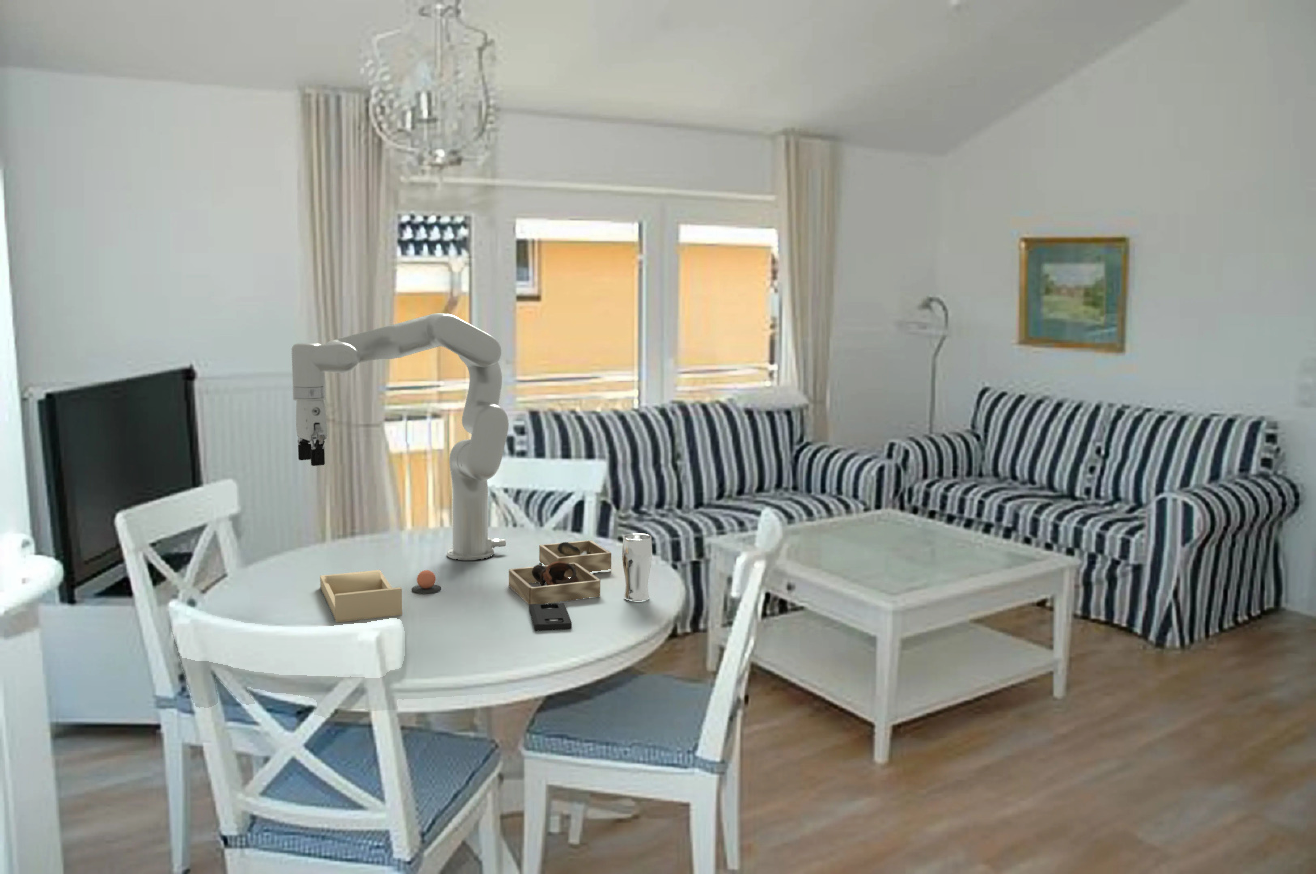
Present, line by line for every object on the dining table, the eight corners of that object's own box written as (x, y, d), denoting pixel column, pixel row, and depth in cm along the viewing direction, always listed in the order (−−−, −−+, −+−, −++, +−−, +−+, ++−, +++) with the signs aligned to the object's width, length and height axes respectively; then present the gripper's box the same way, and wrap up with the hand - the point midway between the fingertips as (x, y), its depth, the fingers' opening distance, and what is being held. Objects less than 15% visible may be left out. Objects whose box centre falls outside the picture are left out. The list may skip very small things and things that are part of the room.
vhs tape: (571, 631, 213) (571, 622, 213) (534, 633, 212) (534, 624, 211) (564, 611, 227) (564, 602, 227) (529, 612, 226) (529, 604, 225)
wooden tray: (590, 558, 272) (590, 540, 271) (611, 571, 258) (611, 552, 258) (539, 563, 265) (539, 544, 265) (557, 577, 252) (557, 558, 252)
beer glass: (629, 604, 231) (630, 541, 229) (616, 596, 237) (617, 534, 235) (656, 600, 234) (657, 538, 232) (643, 593, 240) (644, 532, 238)
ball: (433, 584, 243) (433, 567, 242) (437, 589, 239) (437, 571, 238) (415, 586, 241) (415, 569, 240) (419, 591, 237) (418, 573, 236)
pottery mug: (581, 588, 246) (585, 564, 241) (567, 614, 238) (571, 590, 233) (536, 572, 247) (539, 548, 242) (521, 598, 240) (523, 574, 235)
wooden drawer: (380, 597, 246) (379, 558, 245) (402, 632, 221) (401, 588, 220) (320, 603, 240) (319, 563, 239) (336, 640, 215) (335, 595, 214)
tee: (437, 584, 244) (437, 582, 244) (444, 592, 238) (444, 590, 238) (408, 587, 241) (408, 586, 241) (414, 595, 235) (414, 593, 235)
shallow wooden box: (575, 577, 252) (575, 562, 252) (601, 597, 237) (601, 580, 236) (507, 585, 245) (507, 569, 244) (530, 605, 229) (530, 588, 229)
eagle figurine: (589, 558, 267) (556, 552, 266) (593, 541, 262) (559, 534, 262) (585, 580, 261) (551, 573, 260) (589, 562, 256) (554, 555, 256)
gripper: (336, 396, 240) (338, 466, 243) (313, 390, 254) (315, 456, 256) (304, 397, 236) (307, 469, 238) (283, 391, 250) (285, 459, 252)
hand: (311, 462), depth 247 cm, fingers open, 9 cm apart
